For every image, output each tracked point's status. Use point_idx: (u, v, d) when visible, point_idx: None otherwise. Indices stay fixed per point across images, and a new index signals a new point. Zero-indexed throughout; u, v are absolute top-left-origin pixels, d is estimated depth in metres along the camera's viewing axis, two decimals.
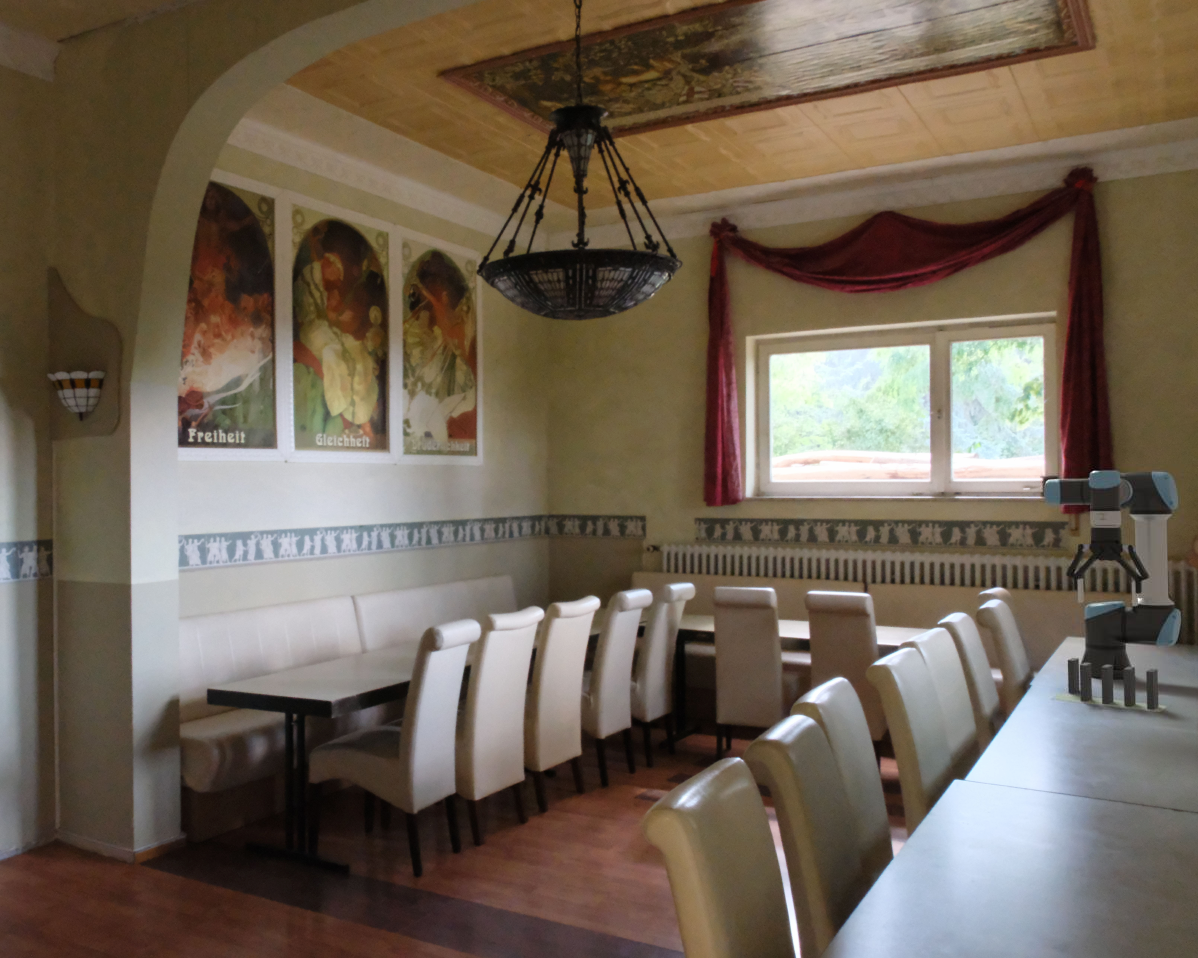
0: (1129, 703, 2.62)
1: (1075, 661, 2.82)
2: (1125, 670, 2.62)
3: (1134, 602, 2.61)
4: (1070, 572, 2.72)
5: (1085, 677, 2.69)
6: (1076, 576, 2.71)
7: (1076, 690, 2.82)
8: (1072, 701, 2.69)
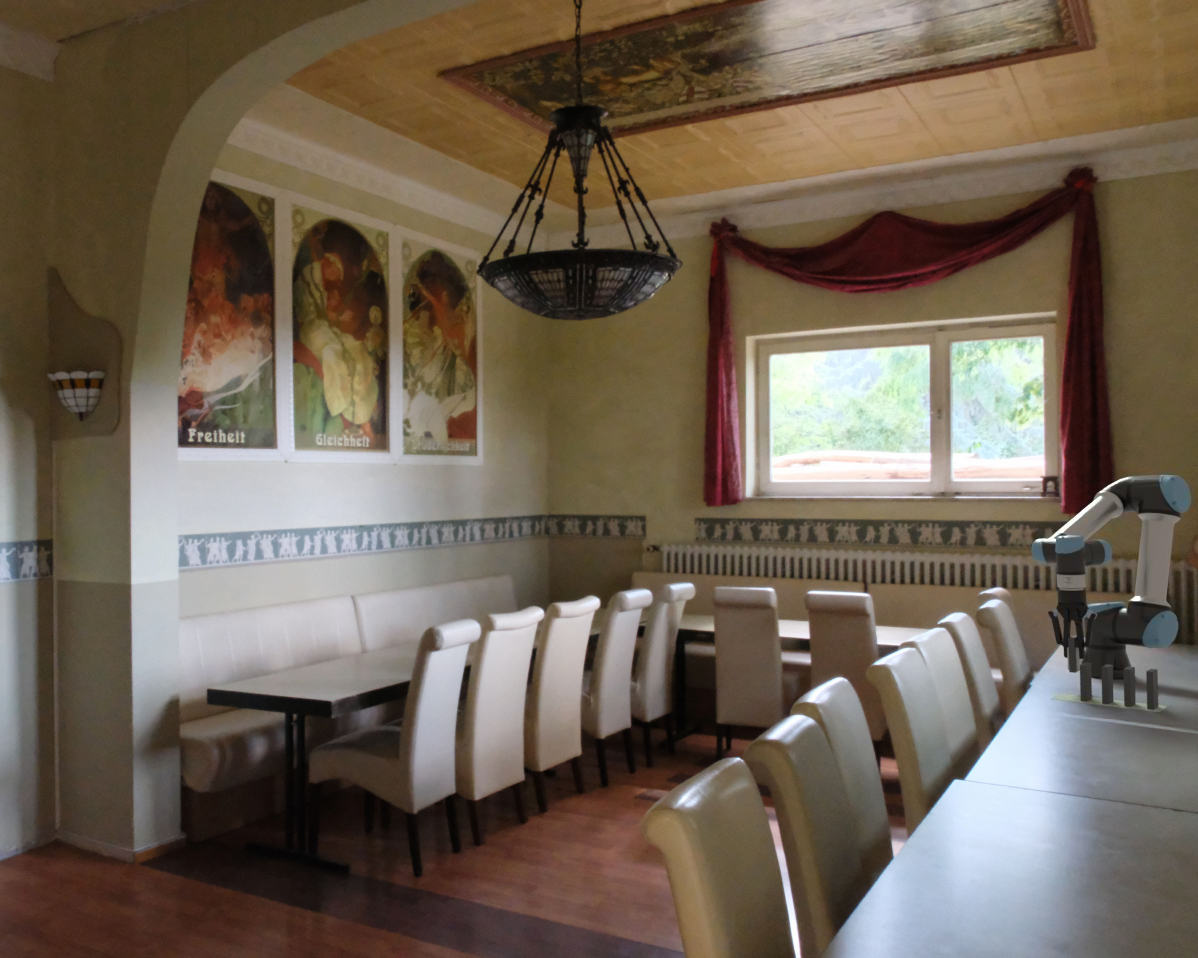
0: (1129, 703, 2.62)
1: (1075, 638, 2.82)
2: (1125, 670, 2.62)
3: (1078, 667, 2.81)
4: (1058, 639, 2.85)
5: (1085, 677, 2.69)
6: (1065, 644, 2.84)
7: None
8: (1072, 701, 2.69)
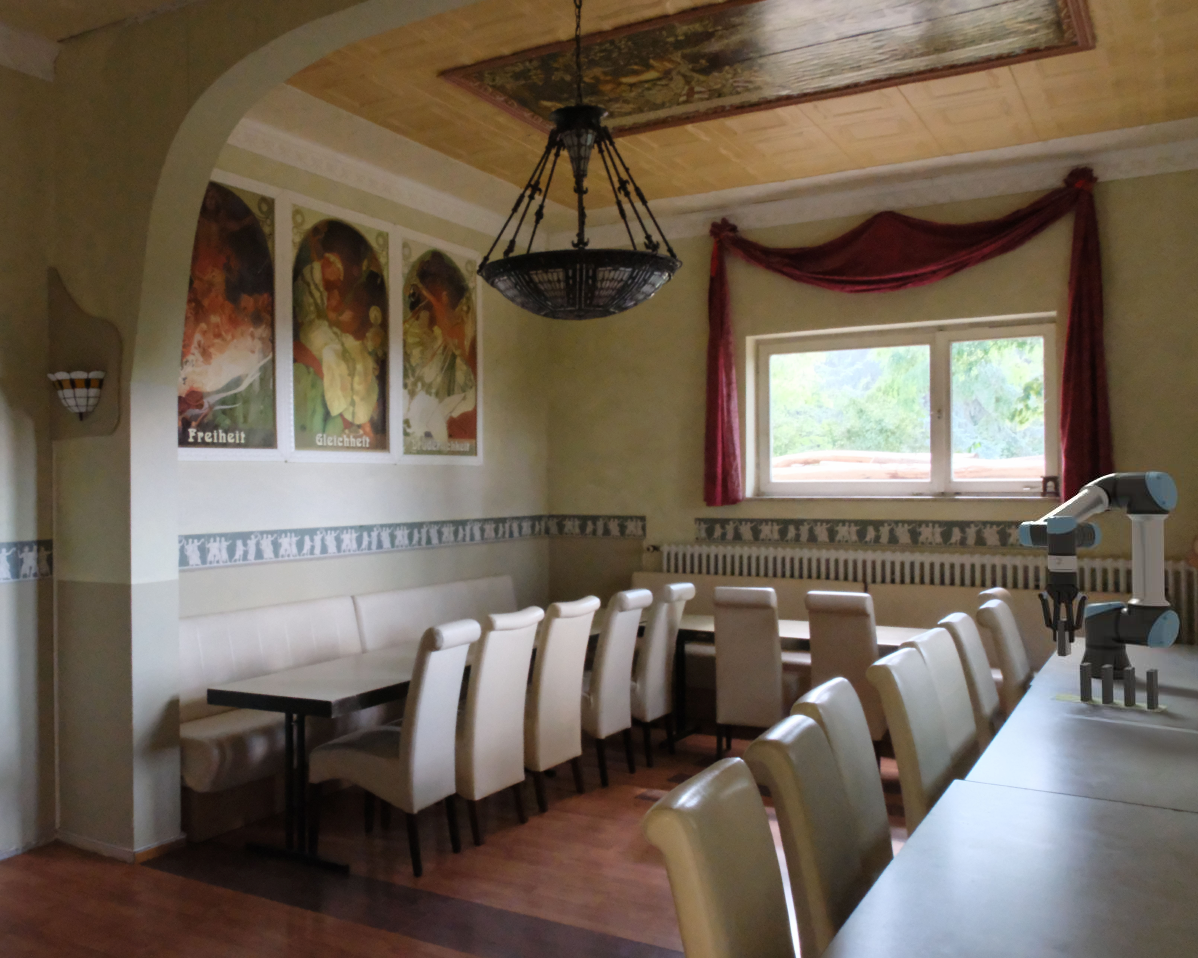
0: (1129, 703, 2.62)
1: (1065, 621, 2.74)
2: (1125, 670, 2.62)
3: (1067, 651, 2.73)
4: (1048, 622, 2.77)
5: (1085, 677, 2.69)
6: (1055, 627, 2.76)
7: None
8: (1072, 701, 2.69)
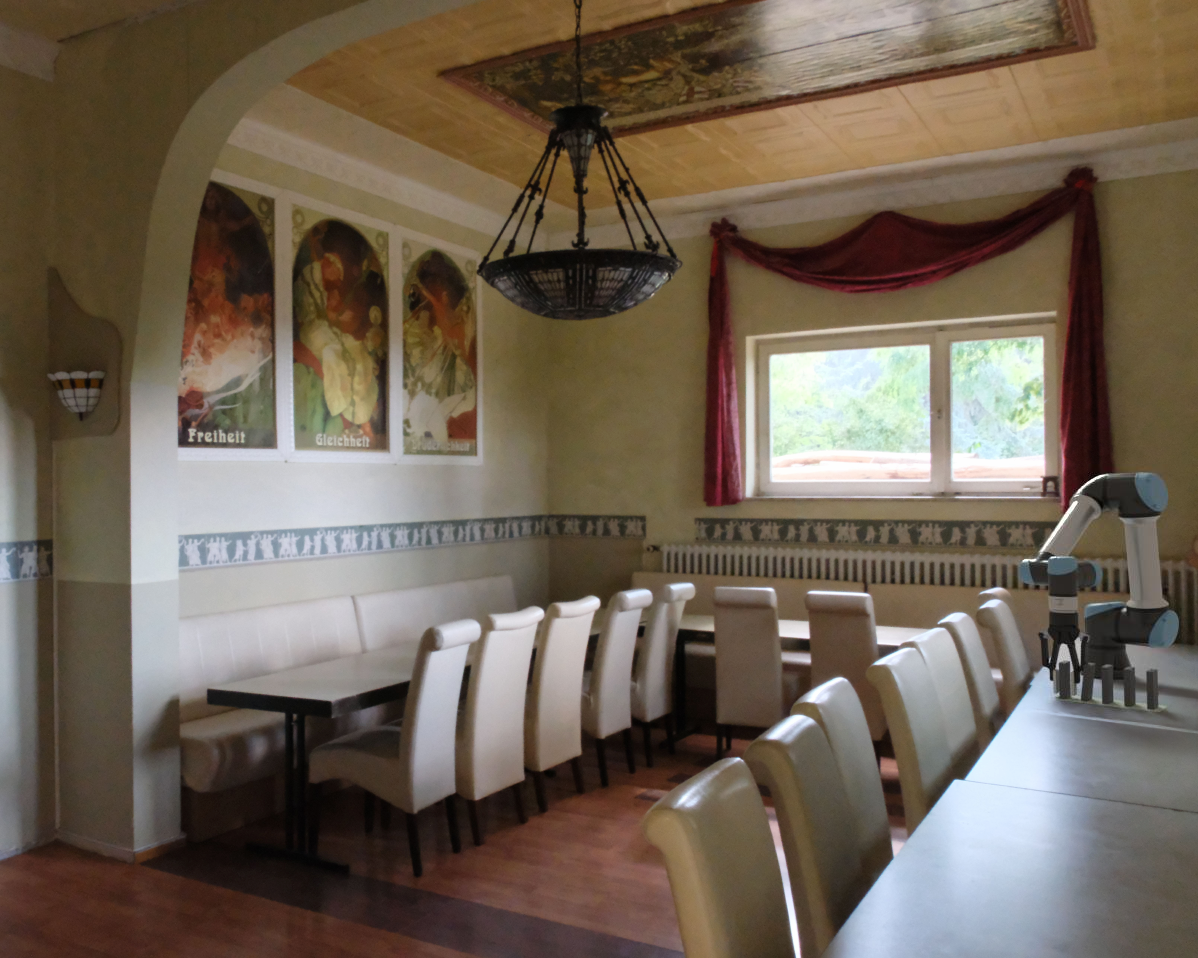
0: (1129, 703, 2.62)
1: (1066, 664, 2.74)
2: (1125, 670, 2.62)
3: (1073, 692, 2.72)
4: (1045, 662, 2.77)
5: (1088, 677, 2.69)
6: (1051, 666, 2.76)
7: (1067, 694, 2.74)
8: (1072, 701, 2.69)
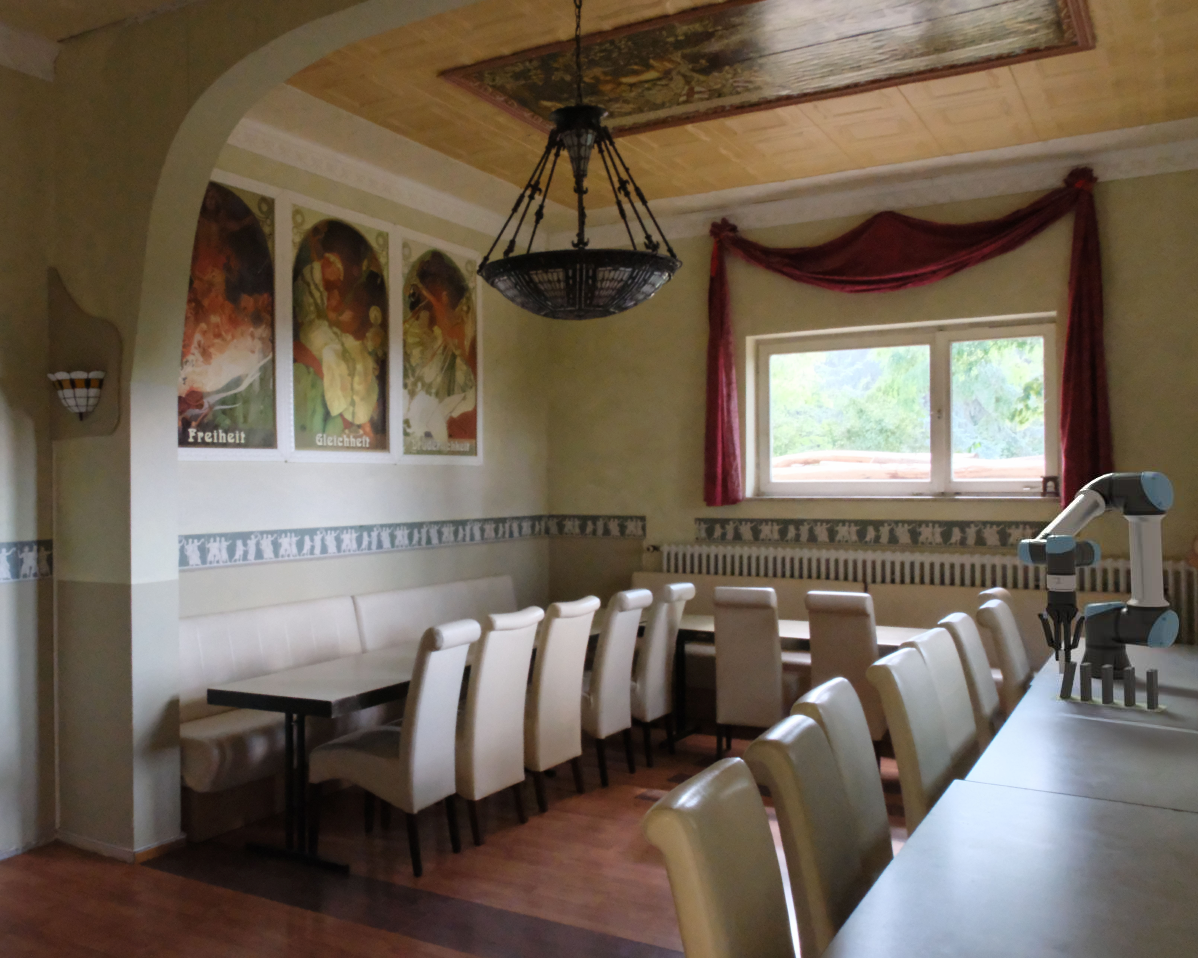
0: (1129, 703, 2.62)
1: (1073, 665, 2.73)
2: (1125, 670, 2.62)
3: (1063, 670, 2.74)
4: (1050, 642, 2.77)
5: (1085, 677, 2.69)
6: (1057, 646, 2.75)
7: (1068, 694, 2.74)
8: (1072, 701, 2.69)
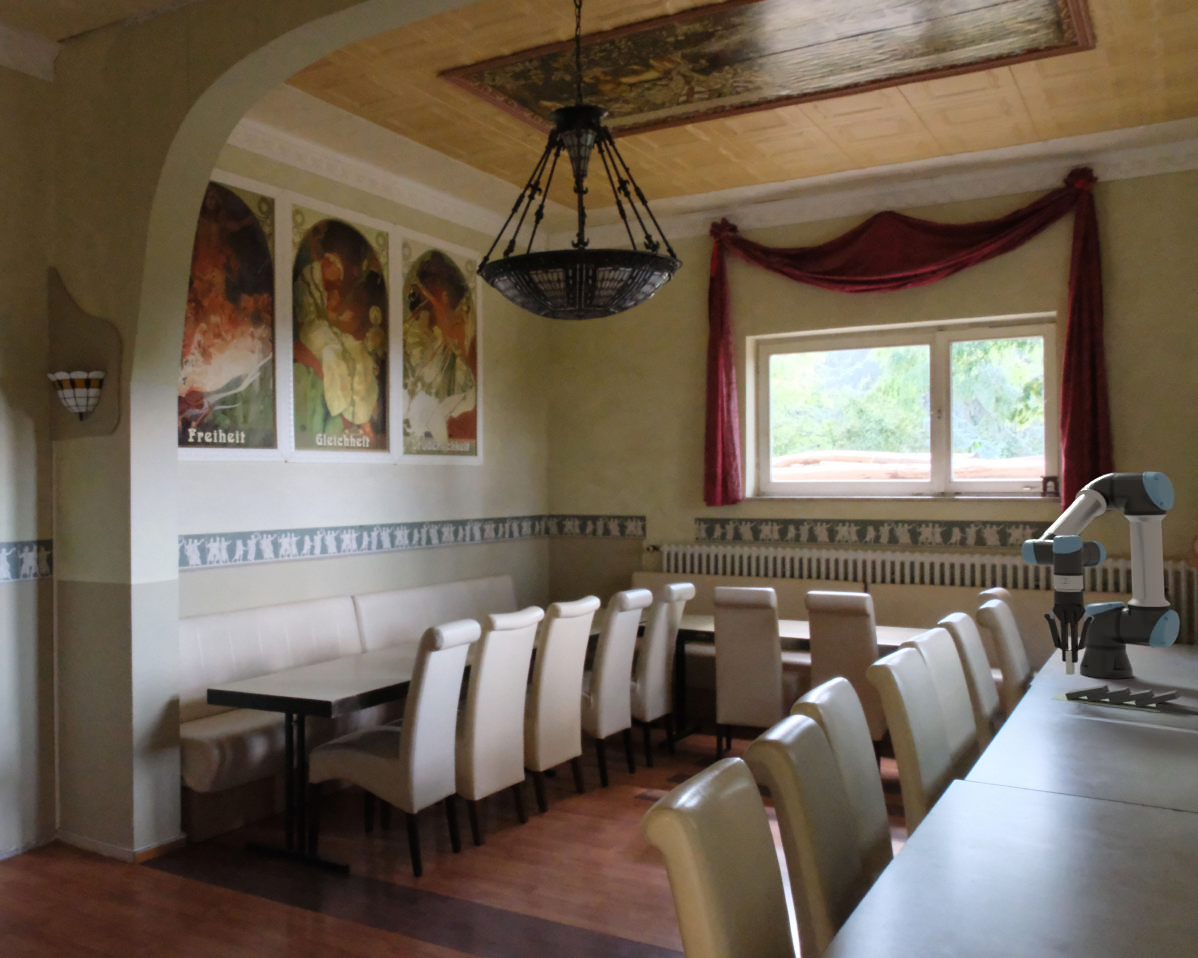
0: (1139, 705, 2.60)
1: None
2: (1173, 694, 2.55)
3: (1070, 671, 2.73)
4: (1057, 643, 2.75)
5: (1113, 696, 2.65)
6: (1064, 647, 2.74)
7: None
8: (1072, 701, 2.69)
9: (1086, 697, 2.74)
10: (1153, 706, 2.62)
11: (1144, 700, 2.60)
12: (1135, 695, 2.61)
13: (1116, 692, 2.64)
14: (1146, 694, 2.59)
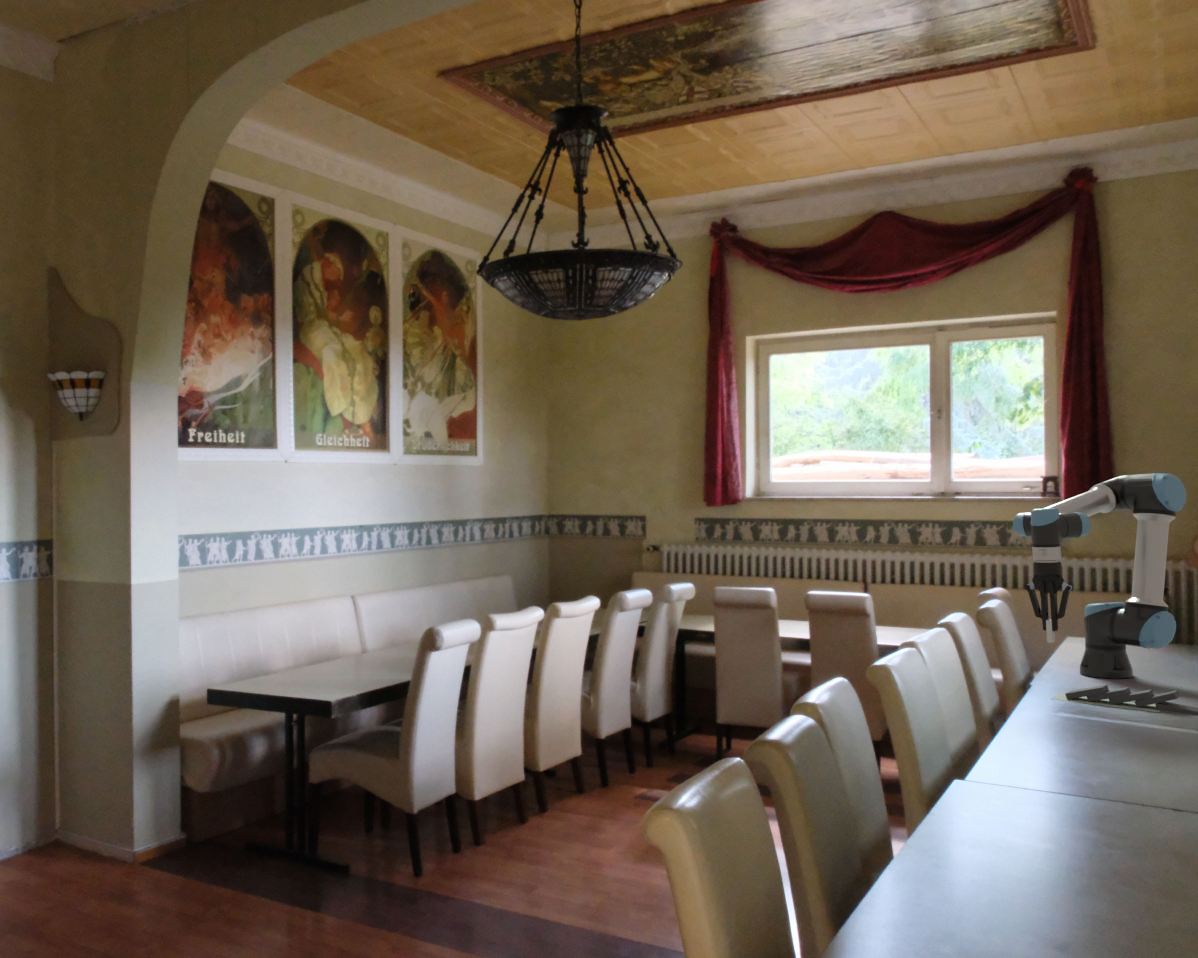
0: (1139, 705, 2.60)
1: None
2: (1173, 694, 2.55)
3: (1051, 639, 2.82)
4: (1037, 612, 2.84)
5: (1113, 696, 2.65)
6: (1044, 616, 2.83)
7: None
8: (1072, 701, 2.69)
9: (1086, 697, 2.74)
10: (1153, 706, 2.62)
11: (1144, 700, 2.60)
12: (1135, 695, 2.61)
13: (1116, 692, 2.64)
14: (1146, 694, 2.59)
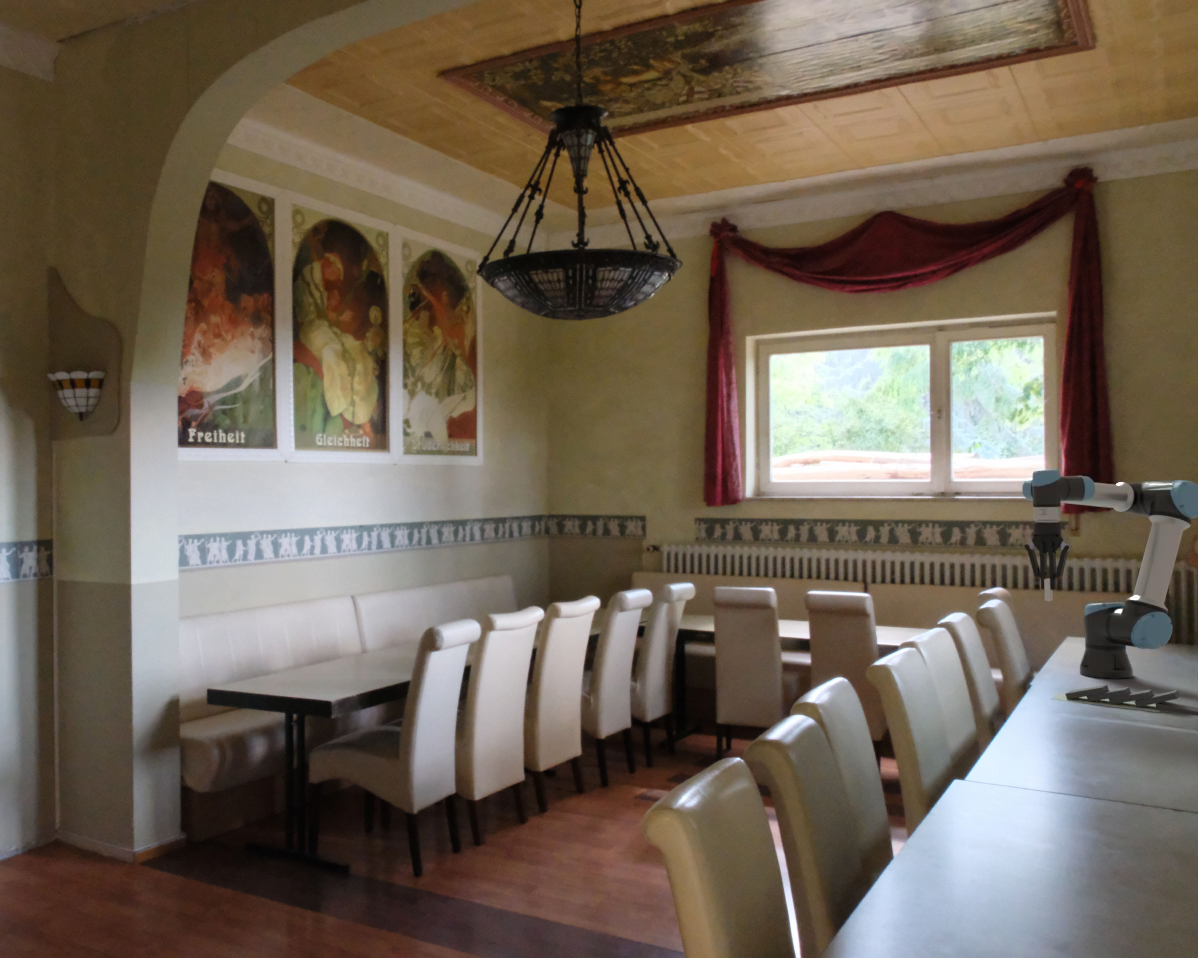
0: (1139, 705, 2.60)
1: None
2: (1173, 694, 2.55)
3: (1049, 597, 2.88)
4: (1036, 571, 2.91)
5: (1113, 696, 2.65)
6: (1042, 575, 2.89)
7: None
8: (1072, 701, 2.69)
9: (1086, 697, 2.74)
10: (1153, 706, 2.62)
11: (1144, 700, 2.60)
12: (1135, 695, 2.61)
13: (1116, 692, 2.64)
14: (1146, 694, 2.59)
